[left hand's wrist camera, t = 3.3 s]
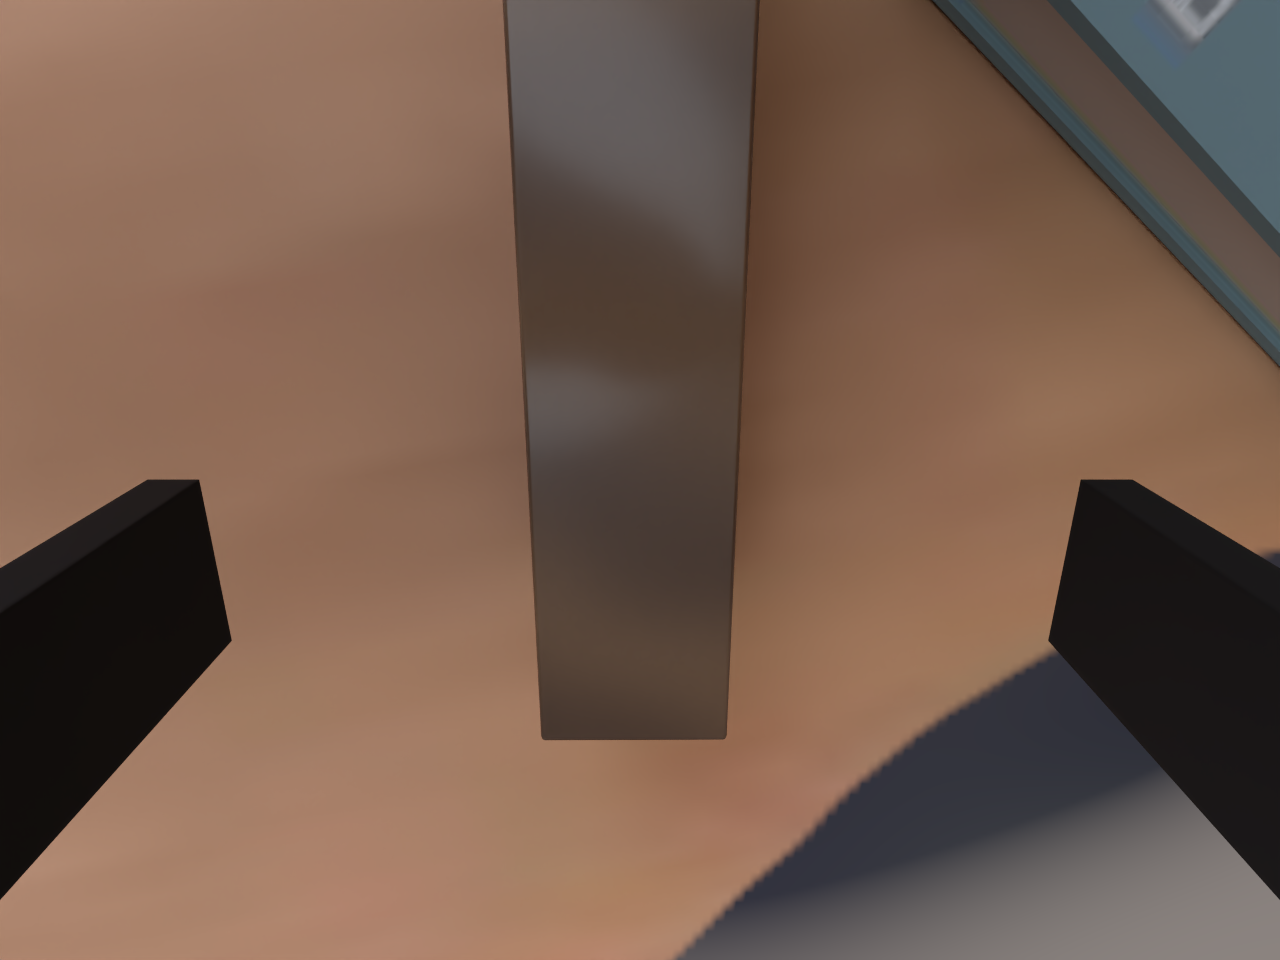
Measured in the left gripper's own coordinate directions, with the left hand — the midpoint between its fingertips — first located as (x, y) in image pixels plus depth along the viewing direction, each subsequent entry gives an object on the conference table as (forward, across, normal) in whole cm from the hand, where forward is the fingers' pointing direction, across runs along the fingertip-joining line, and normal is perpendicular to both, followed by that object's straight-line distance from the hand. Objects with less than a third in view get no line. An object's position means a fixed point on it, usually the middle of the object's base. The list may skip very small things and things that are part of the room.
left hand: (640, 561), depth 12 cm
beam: (+12, 0, -20) cm, 24 cm away
